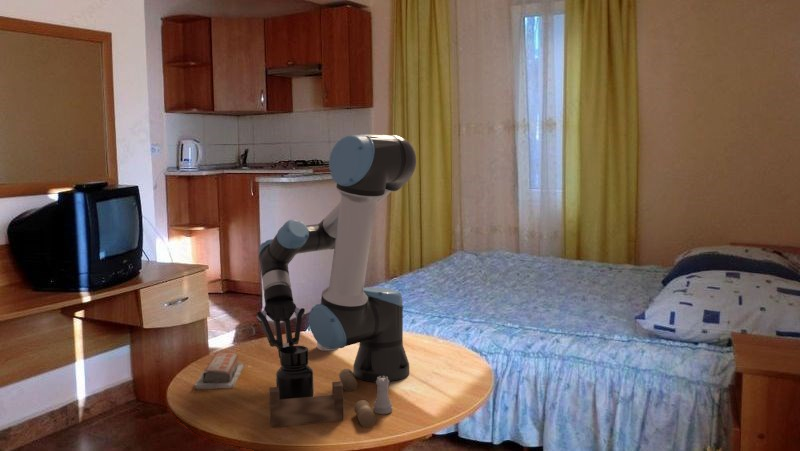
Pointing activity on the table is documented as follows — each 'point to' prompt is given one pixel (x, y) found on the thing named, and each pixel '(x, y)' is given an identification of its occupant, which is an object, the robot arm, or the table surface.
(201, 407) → the table surface
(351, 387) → the roller
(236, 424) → the table surface
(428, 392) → the table surface
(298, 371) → the ink bottle
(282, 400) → the rail
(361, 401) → the roller
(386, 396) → the rook chess piece
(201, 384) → the packaged product
